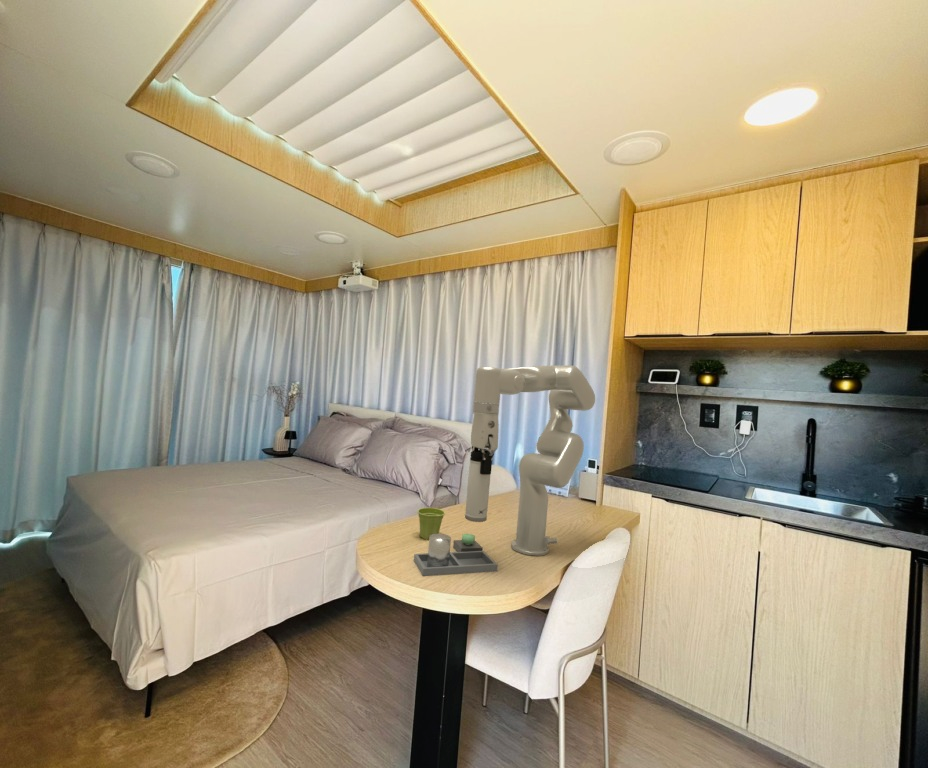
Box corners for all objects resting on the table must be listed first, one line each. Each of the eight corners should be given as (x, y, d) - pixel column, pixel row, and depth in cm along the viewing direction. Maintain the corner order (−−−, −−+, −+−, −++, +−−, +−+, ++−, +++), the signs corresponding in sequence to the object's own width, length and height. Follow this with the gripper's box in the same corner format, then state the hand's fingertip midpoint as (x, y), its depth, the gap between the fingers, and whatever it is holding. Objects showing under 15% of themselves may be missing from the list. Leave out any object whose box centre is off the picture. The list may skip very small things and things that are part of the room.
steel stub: (444, 561, 114) (447, 533, 114) (451, 570, 108) (454, 540, 109) (424, 562, 112) (427, 534, 112) (430, 572, 106) (432, 541, 107)
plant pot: (441, 543, 131) (444, 516, 131) (413, 540, 131) (415, 513, 132) (443, 534, 140) (445, 509, 141) (416, 531, 140) (419, 506, 141)
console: (473, 549, 128) (474, 539, 129) (481, 557, 122) (482, 547, 122) (452, 549, 126) (453, 540, 126) (460, 558, 119) (461, 548, 120)
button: (470, 548, 127) (472, 533, 127) (475, 553, 123) (477, 538, 123) (459, 549, 125) (460, 533, 125) (463, 554, 121) (464, 538, 122)
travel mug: (486, 523, 111) (492, 451, 112) (462, 520, 112) (469, 448, 113) (489, 517, 117) (495, 449, 118) (467, 514, 118) (473, 446, 119)
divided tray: (482, 559, 120) (483, 550, 121) (497, 574, 111) (497, 564, 111) (413, 563, 113) (414, 553, 113) (422, 579, 104) (423, 568, 104)
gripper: (510, 412, 109) (505, 478, 108) (485, 409, 125) (480, 466, 125) (485, 410, 107) (479, 477, 106) (463, 407, 123) (458, 466, 122)
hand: (480, 471), depth 115 cm, fingers closed on travel mug, 6 cm apart
